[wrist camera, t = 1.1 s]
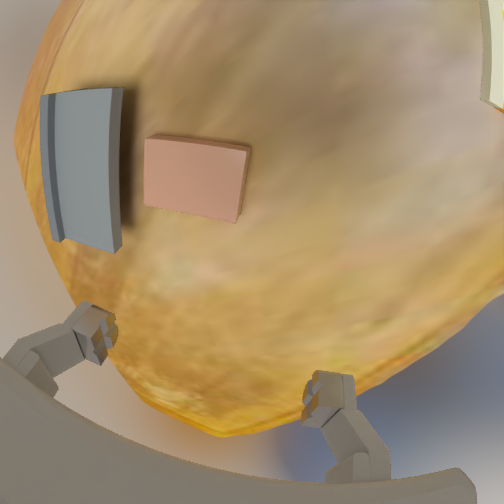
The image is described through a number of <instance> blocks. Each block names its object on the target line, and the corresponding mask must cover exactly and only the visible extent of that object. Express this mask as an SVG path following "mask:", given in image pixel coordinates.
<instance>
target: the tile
mask: <svg viewBox="0 0 504 504" xmlns="http://www.w3.org/2000/svg"><path fill="white" fill-rule="evenodd" d="M250 150H251V147H247V146H242V145H236V144H229V143H223V142H216V141H209V140H202V139H194V138H185V137H176V136H165V135H153V136H150V137H147V138H145V145H144V205H147V206H152V207H157V208H162V209H167V210H172V211H177V212H182V213H187V214H192V215H197V216H202V217H207V218H212V219H216V220H221V221H226V222H231V223H235V224H236V222H237V220H238V218H239V216H240V213H241V207H242V200H243V194H244V187H245V181H246V175H247V169H248V162H249V156H250Z"/></svg>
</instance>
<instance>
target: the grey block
mask: <svg viewBox="0 0 504 504" xmlns="http://www.w3.org/2000/svg"><path fill="white" fill-rule="evenodd" d="M123 89H124V87H119V88H98V89H79V90H72V91H65V92H59V93H53V94H48V95H42V96H41V99H40V150H41V165H42V176H43V185H44V193H45V201H46V207H47V213H48V219H49V224H50V229H51V234H52V239H53V240H54V241H57V242H61V241H62V240H64V239H65V238H67V239H70V240H73V241H76V242H79V243H82V244H85V245H88V246H91V247H94V248H97V249H100V250H103V251H107V252H110V253H113V254H115V253H116V252H117V251H118V250H119V249H120V248H121V247H122V234H121V220H120V198H119V144H120V124H121V110H122V99H123Z"/></svg>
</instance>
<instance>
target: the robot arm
mask: <svg viewBox="0 0 504 504" xmlns="http://www.w3.org/2000/svg"><path fill="white" fill-rule="evenodd" d="M115 320H116V317H115V314H114V313H112V312H109V311H107V310H105V309H103V308H100V307H98V306H96V305H94V304H91V303H89V302H87V301H83V302H81V303H80V304H79V305H78V306H77V308H76V309H75V310H74V311H73V312H72V313H71V315H70V316H69V317H68V318H67V319H66V320H65V322H64V323H63V324H60V323H59V324H57V325H54V326H52V327H49V328H46V329H44V330H41V331H39V332H36V333H34V334H31V335H29V336H26V337H23V338H21V339H18V340H17V342H16V343H15V344H14V345H13V346H12V348H11V349H10V350H9V351H8V353H7V354H6V355H5V356H4V358H3V359H1V358H0V504H477V493H476V488H475V485H474V484H473V483H472V481H471V480H470V479H469V478H468V476H466V474H465V473H464V472H463V471H462V470H461V469H459V468H452V469H447V470H443V471H439V472H435V473H430V474H425V475H419V476H414V477H408V478H401V479H393V480H391V464H390V451H389V450H388V448H387V447H386V445H385V444H384V443H383V441H382V440H381V439H380V437H379V436H378V434H377V433H376V432H375V431H374V429H373V428H372V426H371V425H370V423H369V422H368V421H367V419H366V418H365V417H364V415H363V414H362V412H361V411H359V410H357V405H356V393H355V382H354V377H353V375H348V374H340V373H335V372H328V371H321V370H316V371H315V372H314V373H313V375H312V380H309V381H308V383H307V384H306V386H305V389H304V393H303V401H302V402H303V404H304V405H305V408H304V409H303V410H302V415H301V425H302V426H308V427H315V428H321V431H322V433H323V435H324V437H325V439H326V441H327V443H328V445H329V447H330V449H331V451H332V452H333V455H334V456H335V459H336V460H337V462H338V464H337V465H335V466H333V467H332V468H330V469H328V470H327V471H326V475H325V483H315V482H298V481H286V480H278V479H269V478H263V477H256V476H250V475H244V474H239V473H234V472H229V471H225V470H220V469H216V468H212V467H208V466H204V465H201V464H197V463H194V462H190V461H187V460H183V459H180V458H177V457H174V456H171V455H168V454H165V453H163V452H160V451H157V450H154V449H151V448H149V447H147V446H144V445H142V444H139V443H137V442H134V441H132V440H130V439H127V438H125V437H123V436H121V435H118V434H116V433H114V432H112V431H110V430H108V429H106V428H104V427H102V426H100V425H98V424H96V423H95V422H93V421H91V420H89V419H87V418H85V417H84V416H81V415H80V414H78V413H77V412H75V411H73V410H71V409H70V408H68V407H66V406H65V405H63V404H62V403H60V402H58V401H57V400H55V399H54V396H55V394H56V393H57V391H58V386H57V384H56V382H55V381H54V379H53V378H54V377H55V376H57V375H59V374H61V373H62V372H64V371H66V370H68V369H69V368H71V367H73V366H75V365H76V364H78V363H80V362H82V361H83V360H85V359H87V360H89V361H91V362H93V363H96V364H98V365H100V366H101V365H102V363H103V362H104V360H105V359H106V357H107V356H108V349H110V348H112V347H113V346H114V345H115V343H116V341H117V338H118V327H117V325H116V324H115V323H114V322H115Z"/></svg>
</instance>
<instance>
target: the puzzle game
mask: <svg viewBox="0 0 504 504" xmlns="http://www.w3.org/2000/svg"><path fill="white" fill-rule="evenodd" d="M479 1H480V9H481V20H482V39H483V63H482V83H481V94H480V100H482V101H484V102H486V103H488V104H489V105H491V106H493V107H494V108H496V109H498V110H499V111H501V112H503V113H504V0H479Z"/></svg>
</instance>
